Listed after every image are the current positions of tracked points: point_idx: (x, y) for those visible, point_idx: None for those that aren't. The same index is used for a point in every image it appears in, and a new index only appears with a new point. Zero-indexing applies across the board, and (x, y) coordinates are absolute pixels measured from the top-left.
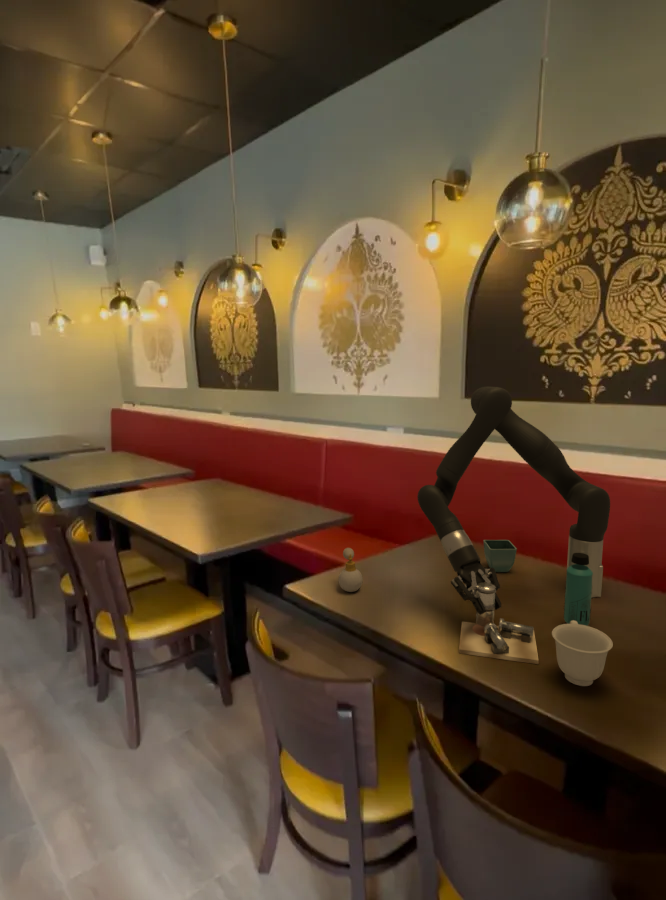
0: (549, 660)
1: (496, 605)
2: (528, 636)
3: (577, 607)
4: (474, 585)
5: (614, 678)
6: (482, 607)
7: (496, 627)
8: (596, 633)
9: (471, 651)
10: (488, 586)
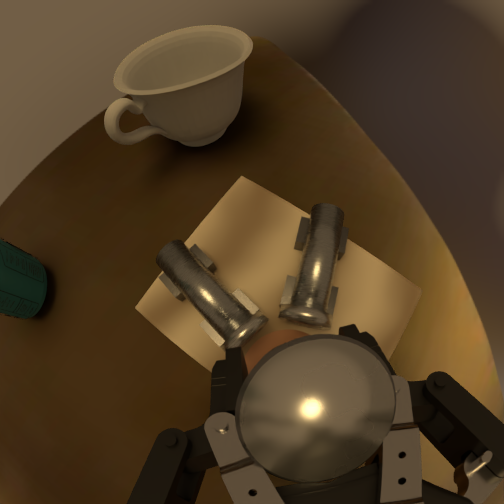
0: (203, 188)
1: (244, 367)
2: (196, 247)
3: (8, 249)
4: (407, 438)
5: (144, 120)
6: (360, 335)
7: (289, 305)
8: (124, 75)
9: (395, 271)
10: (308, 404)
